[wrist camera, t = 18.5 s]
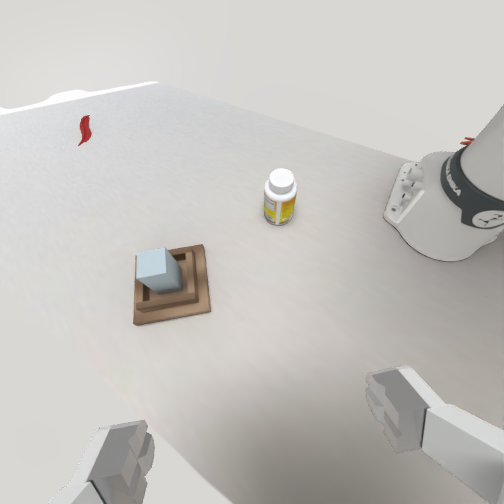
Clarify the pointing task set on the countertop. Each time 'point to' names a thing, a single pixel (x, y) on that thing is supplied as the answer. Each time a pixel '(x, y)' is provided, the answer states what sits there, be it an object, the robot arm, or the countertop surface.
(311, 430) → the countertop surface
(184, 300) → the board
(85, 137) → the cayenne pepper
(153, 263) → the block
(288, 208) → the supplement bottle
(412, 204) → the robot arm
